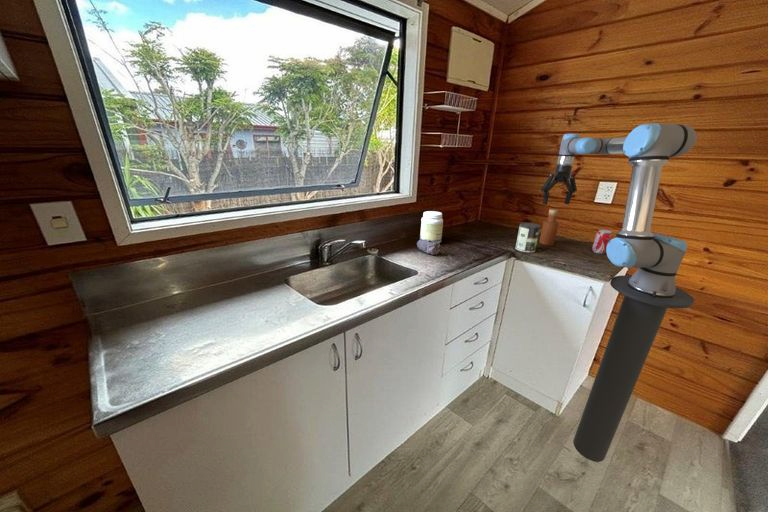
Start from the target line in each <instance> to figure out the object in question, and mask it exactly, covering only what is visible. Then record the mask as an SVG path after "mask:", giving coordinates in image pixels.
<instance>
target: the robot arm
mask: <svg viewBox="0 0 768 512" xmlns="http://www.w3.org/2000/svg"><path fill="white" fill-rule="evenodd" d="M696 143H697V132H696V130H694V128H693V127H691V126H689V125H686V124H681V123H679V124H675V123H674V124H673V123H657V122H653V123H643V124H639V125H637V126H635V128H633V129H632V130H631V132H629V133H628V135H627V136H619V137H618V136H617V137H608V138H606V137H605V138H604V137H580V134H579V133H564V134H563V136H562V139H561V142H560V146H559V152H558V157H557V161H556V166H555V173H549V175H548V177H547V179H546V180H545V182H544V184H543V185H542V187H541V188H540V191H541V192H543V194H542V198H543V200H542V203H541V204H543V205H548V200H549V196H550V192H549V191H550V190H552V188H554V187H555V186H556V184H558V183H559V184H561V183H563V184H564V185H565V187H566V189H567V192H566V195H565V199H564V200H565V201H564V204H565V205H570V202H571V199H572V197H573V194H574V193H575V192H577V191H578V188H577V183H576V174H574V173H571V172H572V169H573V164H574V161H575V157H576V154H577V155H604V156H606V155H607V156H611V155H625V156H626V157H628V164H629V166H631V174H630V180H629V186H628V191H627V197H626V203H625V209H624V214H623V220H622V221H623V222H622V226H621V228H620V230H618V231H617V232H616V234H615V237H614V238H611V240H610V242H609V243H608V244H607V248H606V252H607V253H606V256H607V258H608V260H609V261H610V263H611V264H613V266H616V267H618V268H626V269H631V268H638V269H637V270H636V271H635V272H634V273H633V274H632V275H631V276H632V277H631V278H630V279H629V281H628V286H629V287H631V288H632V289H634V290H636V291H638V292H641V293H644V294H647V295H651V296H653V297H663V298H670V297H673V296H674V294H675V291H676V287H677V286H676V276H677V273H678V271H679V269H680V266H681V264H682V262H683V259H684V257H685V254H686V253H687V248H688V242H686V241H685V240H683V239H680V238H676V237H674V236H670V235H666V234H660V233H653V232H652V231H651V228H652V227H651V226H652V222H653V217H654V211H655V207H656V201H657V194H658V190H659V185H660V179H661V175H662V171H663V170H662V169H663V166H665V165H666V164H667V163H669V161H670V159H671V158H677V157H680V156H683V155H685V154H687V153H688V152H689V151H691V150H692V148H694V146H695V144H696Z"/></svg>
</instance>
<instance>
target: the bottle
mask: <svg viewBox="0 0 768 512" xmlns="http://www.w3.org/2000/svg"><path fill="white" fill-rule="evenodd" d="M557 217H558V215H557V216H553V215H549V214H548V217H547V219H544V220H543V223H542V226H541V230H540V231H541V232H540V236H539V239H538V240H539V241H538V243H539V244H542V245H546V246H553V245H555V243H556V242H555V241H556V237H557V233H558V228H559V225H560V222H559V221H557Z"/></svg>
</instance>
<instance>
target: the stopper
mask: <svg viewBox="0 0 768 512" xmlns="http://www.w3.org/2000/svg"><path fill="white" fill-rule="evenodd" d="M558 214H559V209H558V208H549V209H548V216H549V215H553V216H557V217H558Z"/></svg>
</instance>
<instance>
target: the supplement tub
mask: <svg viewBox="0 0 768 512" xmlns="http://www.w3.org/2000/svg"><path fill="white" fill-rule="evenodd" d="M420 221H421V222H420V234H419V240H421V239H426V240H431V241H434V242H437V243H439V244H440V243H442V239H443V228H444V219H443V213H442V212H440V211H435V210H427V211H424V212H423V214H422V217H421V219H420Z"/></svg>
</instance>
